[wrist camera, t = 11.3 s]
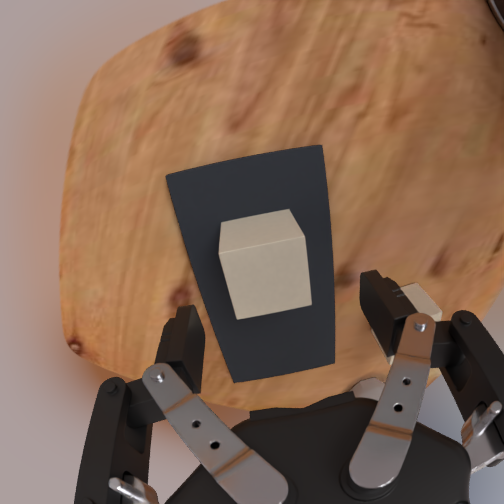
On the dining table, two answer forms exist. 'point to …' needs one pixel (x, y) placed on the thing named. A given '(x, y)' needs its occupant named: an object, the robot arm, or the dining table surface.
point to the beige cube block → (417, 307)
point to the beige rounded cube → (265, 264)
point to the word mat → (250, 204)
